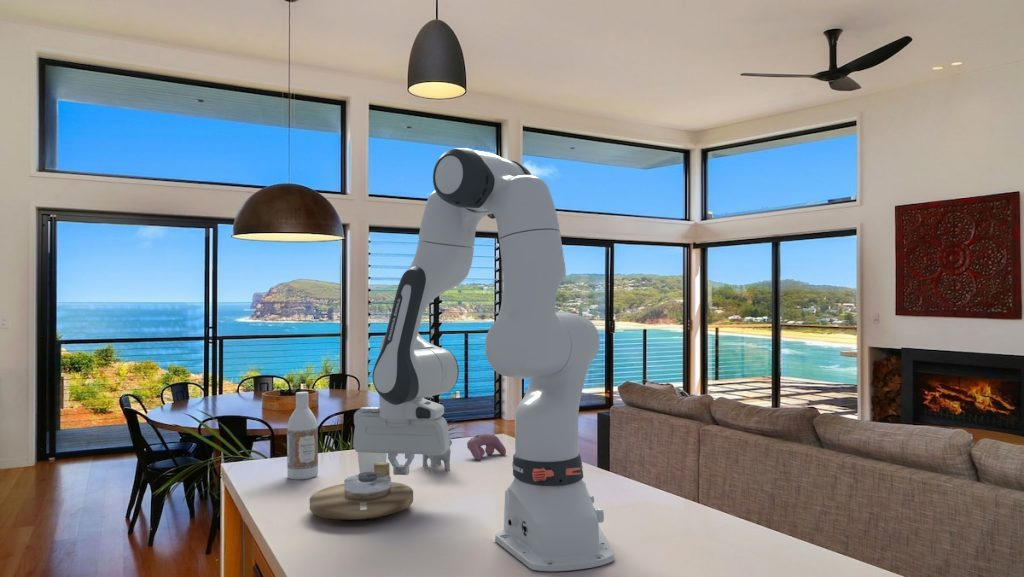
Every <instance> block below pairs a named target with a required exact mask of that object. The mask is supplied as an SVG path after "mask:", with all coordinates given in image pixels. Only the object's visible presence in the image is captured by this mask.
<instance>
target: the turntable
mask: <svg viewBox="0 0 1024 577" xmlns="http://www.w3.org/2000/svg"><path fill="white" fill-rule="evenodd" d="M390 470H391V469H390V462H387V461H386V462H379V463H375V464H374V472H376V473H379V474H386V475H389V476H390V477H391V475H390V474H391V473H390ZM413 502H414V489H413V488H412V487H410V486H409V485H407V484H403V483H401V482H395V481H391V494H390V495H389V496H387V497H385V498H382V499H378V500H372V501H353V500H348V499H346V498H345V497H344V483H340V484H336V485H331V486H327V487H326V488H323V489H320V490H318V491H316V492H314V493H313V494H312V495H311V496H310V498H309V510H310V512H311V513H312V514H314V515H315V516H318V517H322V518H326V519H333V520H339V519H366V518H374V517H380V516H383V517H386V516H388V515H391V514H396V513H398V512H401V511H402V510H406V509H407V508H409V507H411V505H412V504H413ZM385 515H386V516H385ZM380 518H381V517H380Z"/></svg>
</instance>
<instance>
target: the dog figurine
mask: <svg viewBox="0 0 1024 577" xmlns="http://www.w3.org/2000/svg"><path fill="white" fill-rule="evenodd" d="M449 441H450V446H449V449H448V450H447V451H446V452H445V453H444V454H443V455H430V454H422V467H423V468H428V467H429V465H428V459H429V460H430V473H431V474H435V473H436V472H437V466H442V461H443V464H444V467H443V468H444V471H445V472H450V471H451V467H450V462H451V461H450V460H451V452H452V451H451V446H452V443H453V441H452V440H451V438H450V435H449Z"/></svg>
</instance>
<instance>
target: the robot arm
mask: <svg viewBox="0 0 1024 577" xmlns="http://www.w3.org/2000/svg"><path fill="white" fill-rule="evenodd" d="M432 184H433V188H434V190H433V191H432V192H431V193H430V194H429V196H428V198H427V200H426V204H425V207H424V211H423V214H422V217H421V218H422V219H421V222H420V228H419V232H418V233H419V234H418V241H417V247H416V251H415V254H414V257H413V260H412V262H411V264H410V266H409V267H408V269H407V270H406V271H404V273H403V275H401V278H400V280H399V283H398V286H397V289H396V293H395V296H394V301H393V304H392V307H391V308H392V309H391V312H390V316H389V321H388V325H387V328H386V332H385V335H384V336H383V337H382V339H381V342H380V348H379V354H378V356H377V358H376V361H375V364H374V367H373V370H372V382H373V383H372V384H373V387H374V388H375V390H376V392H377V393H378V395H379V397H378V398H379V399H378V400H379V404H378V405H379V406H377V407H365V406H364V407H360V409H357V410H356V411H355V412H354V414H353V424H354V433H353V437H352V438H353V441H352V447H353V449H354V450H355V452H356V453H358V452H366V453H387V459H388V461H389V464H391V466H392V468H393V472H392V473H393V475H394V476H397V475H398V476H408V475H410V466H411V464H412V462H413V460H414V458H415V455H423V454H430V455H443V454H444V453H445V452H446V451H447V450H448V449H449V446H450V441H449V436H450V431H449V426H448V421H447V420H446V419H445V418H444V416H443V415H444V413H445V406H444V405H443V404H440V403H438V402H435V401H432V400H428V399H426V398H430V397H433V396H438V395H443V394H445V393H448V392H450V391H452V390H453V389H454V387H455V386H456V385H457V381H458V379H459V376H460V375H459V373H460V372H459V368H460V367H459V363H458V360H457V359H456V356H455V355H454V354H453V353H452V351H450V350H448V349H447V348H442V347H440V346H437V345H435V344H433V343H431V342H428V341H427V340H426V339H424V338H423V337H422V335H421V334H420V333H419V330H420V327H421V326H420V325H421V322H422V318H423V314H424V313H425V310H426V308H427V307H428V306H429V304H430V303H431V302H432V301H434V300H435V299H436V298H438V297H439V296H441V295H442V294H444V293H446V292H448V291H450V290H452V289H454V288H456V287H457V286H459V285H460V284H461V283H462V282H464V280H465V279H466V278H467V277H468V276H469V273H470V270H471V267H472V264H473V259H474V249H475V248H474V247H475V242H476V241H475V239H476V231H477V226H478V225H479V222H480V221H481V220H482V219H483V218H484V217H486V216H487V217H488V218H489V219H492V220H493V219H495V222H496V225H497V235H498V243H499V251H500V257H501V259H500V260H501V267H502V275H503V276H502V277H503V291H502V297H501V298H502V299H501V304H500V309H499V312H498V315H497V318H496V320H495V322H494V323H493V324H492V325H491V326H490V328H489V330H488V331H487V334H486V336H485V341H484V352H485V357H486V359H487V362H488V364H489V365H490V367H491V368H492V370H494V372H496V373H497V374H499V375H501V376H503V377H509V378H514V379H520V380H521V379H522V380H527V379H528V380H529V381H528V382H529V383H528V386H527V389H526V392H525V394H524V397H523V398H522V399H521V400H520V402H519V403H518V405H517V407H516V408H515V412H514V441H515V443H514V444H515V445H514V446H515V447H514V449H515V450H514V451H515V452H514V454H513V456H512V463H511V465H512V466H511V467H512V476H513V477H514V478H513V480H512V482H511V483H510V485H509V486H508V487H507V489H505V492H504V509H503V510H504V512H503V530H500V531H498V532H497V533H496V534H495V538H494V541H495V543H497V544H499V545H500V546H501V547H502V548H504V549H505V550H506V551H508V552H509V553H510V554H511V555H513V557H515V558H516V559H517V560H519V561H520V562H521V563H523V565H525V566H526V567H528V569H530V570H533V571H538V572H565V571H567V572H569V571H576V570H584V569H590V568H596V567H601V566H604V565H607V564H610V563H611V562H614V561H615V554H614V551H613V549H612V548H611V546H610V543H609V542H608V540H607V539H606V537H605V535H604V532H603V531H602V529H601V527H600V525H599V524H600V523H601V524H602V523H603V522H604V520H605V517H604V515H605V514H604V510H603V508H601V507H597V508H596V507H595V508H594V503H595V497H594V495H593V494H590V493H589V491H588V488H587V484H586V483H585V481H583V478H584V471H583V470H584V469H583V468H584V467H583V462H582V456H581V454H580V453H579V412H580V411H579V410H580V402H581V399H582V398H581V397H582V393H583V388H584V384H585V380H586V376H587V373H588V371H589V368H590V365H591V364H592V362H593V361H594V359H595V358H596V356H597V355H598V352H599V349H600V345H601V344H600V342H601V340H600V339H601V338H600V335H599V331H598V329H597V327H596V326H595V324H594V323H593V321H591V319H589V318H587V317H585V316H582V315H580V314H576V313H572V312H568V311H558V312H556V304H557V303H556V301H557V293H558V289H559V287H560V285H561V284H562V282H563V281H564V280H565V278H566V274H567V271H566V270H567V269H566V263H565V256H564V250H563V244H562V237H561V229H560V225H559V224H560V223H559V220H558V219H559V218H558V215H557V210H556V207H555V203H554V201H553V198H552V194H551V192H550V189H549V187H548V184H547V183H546V182H545V181H544V180H543V179H542V178H540V177H538V176H534V175H532V173H531V172H530V170H528V169H527V168H526V167H525V166H524V165H523V164H521V163H519V162H517V161H515V160H509V159H508V158H504V157H503V156H499V155H498V154H495V153H492V152H488V151H482V150H474V149H472V148H469V147H468V148H467V147H456V148H451V149H448V150H446V151H445V152H443V153H442V154H441V155H440V156H439V158H437V160H436V162H435V165H434V168H433V173H432ZM450 447H451V446H450ZM399 454H401V455H402V454H403V455H404V460H406V461H405V463H404V464H400V463H399V461H398V459H397V458H396V457H398V455H399Z"/></svg>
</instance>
